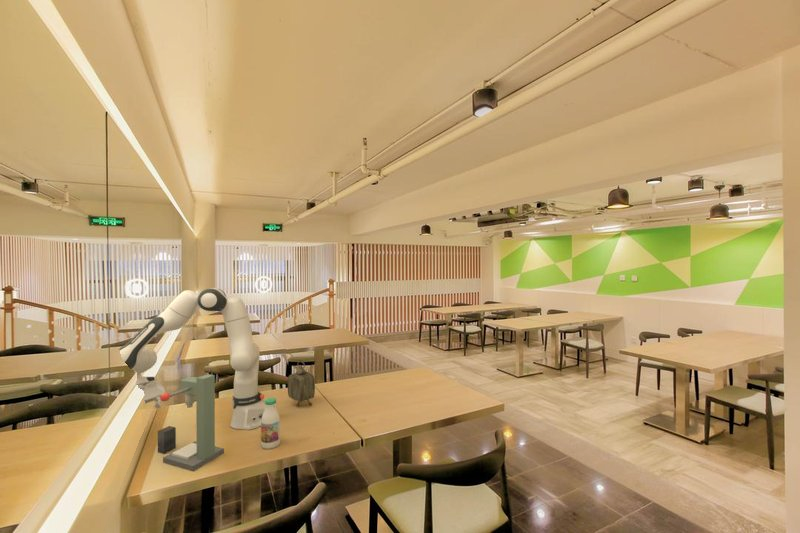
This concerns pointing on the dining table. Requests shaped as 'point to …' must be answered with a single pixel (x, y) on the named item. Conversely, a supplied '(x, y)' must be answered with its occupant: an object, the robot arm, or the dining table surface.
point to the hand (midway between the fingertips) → (147, 411)
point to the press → (205, 419)
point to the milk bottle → (270, 425)
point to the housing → (166, 439)
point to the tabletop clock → (301, 385)
